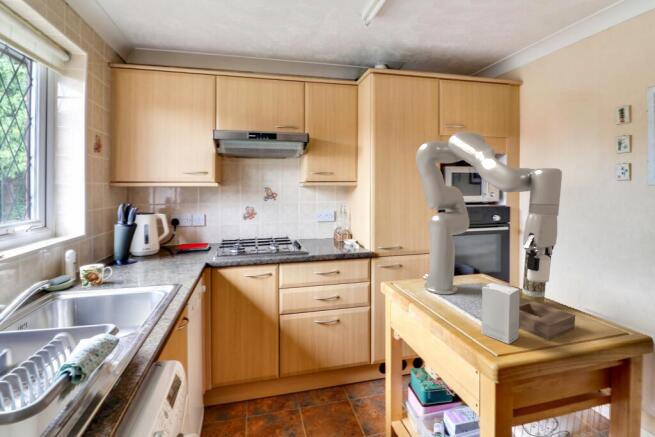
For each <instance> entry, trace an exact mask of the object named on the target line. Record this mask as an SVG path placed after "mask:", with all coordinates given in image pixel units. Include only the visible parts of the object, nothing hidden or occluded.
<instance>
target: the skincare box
mask: <svg viewBox="0 0 655 437" xmlns="http://www.w3.org/2000/svg"><path fill="white" fill-rule="evenodd" d="M520 290H521V289H519V288H517V287H512V286H508V285H503V284H499V283H496V282H490V283H488V284H486V285H483V286H482V288H481V291H482V293H481V296H482V297H481V335H484V336H487V337H490V338H492V339H494V340H497V341H500V342H503V343H505V344H507V345H510V344H512V343H513V342H515V341H516V340H518V339H519V333H520V332H519V330H520V329H519V299H520V298H521V297H520Z"/></svg>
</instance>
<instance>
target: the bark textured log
mask: <svg viewBox="0 0 655 437" xmlns="http://www.w3.org/2000/svg"><path fill="white" fill-rule="evenodd" d="M533 247H536V245H533ZM532 250H534V251H536V249H532ZM527 261H528V256H527V252H526V251H525V253H524V264H523V265H524V267H523V277H522V278H523V279H522V291H521V298H525V299H528V300H531V301H534V302H537V303H540V304H543V305H545V296H546V285H547V282H533V281H529V280H528V279H527V272H528V269H527Z"/></svg>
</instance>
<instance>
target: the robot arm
mask: <svg viewBox="0 0 655 437" xmlns="http://www.w3.org/2000/svg"><path fill="white" fill-rule="evenodd" d="M460 161H465V163H468V164H470V166H472V167H474V168H475V169H476V171H477V173H478V174H479V176H480V177H481V178H482V179H483V181H485V182H487V183H488V184H489V185H491V186H493V187H494V188H495V189H496V190H497V189H498V190H499V191H500V192H504V193H522V192H523V193H524V192H525V193H526V192H529V201H528V202H529V204H528V214H527V216H526V217H527V218H526V220H525V225H524V231H523V240H522V245H523V249H524V250H525V253H526V252H527V256H528V261H527V269H530V270H534V271H539V262H540V258H538V256H539V253H540V249H541V248H545V254H544V255H547V256H549V257H550V259H551V260H552V255H553V250H554V247H555V246H556V244H557V239H558V216H559V213H560V202H561V189H562V178H563V172H562V170H561V169H560V168H555V167H554V168H552V167H548V168H547V167H546V168H530V167H529V168H528V167H527V168H526V167H510V166H509V165H507V164H505V163H503V162H501V161H500V160H498V159H497V158H496V149H495V148H494V147H493V146H491V145H490V144H487V143H486V140H485V137H484V136H482V134H480V133H477V132H472V131H471V132H468V131H459V132H455V133H454V134H451V136H449V139H448V141H440V140H439V141H437V140H434V141H433V140H432V141H430V140H429V141H426V142H425V143H423V144H421V145H420V147H419V148H418V149H417V151H416V156H415V165H416V169H417V172H418V175H419V178H420V181H421V185H422V189H423V193H424V197H425V201H426V205H427V207H428V208H429V209H431V210H433V211H438V210H439V211H440V210H441V211H442V212H437V213H435V214H433V215H432V216H431V217H430V218H429V220H428V224H427V228H428V233H429V265H428V266H429V267H428V268H429V269H428V273H425V274H424V275H423V276H422V279H424V280H426V283H425V284H424V289H425V290H426V291H428V292H430V293H433V294H436V295H452V294H453V295H454V294H455V293H457V292H458V287H457V286H456V285H455V284H454V278H455V276H454V275H455V260H456V258H455V257H456V253H455V252H456V246H455V241H454V239H453V236H456V235H461V234H463V233H466V232H467V230H468V229H469V228H470V217H469V213H468V209H467V204H466V202H465V198H464V195H463V192H461V190H460V188H458V187H456V186H453V185H446V183H445V180H444V176H443V174H442V171H441V170H440V168H439V167H438V166H437V164H453V163H457V162H460ZM443 210H445V211H444V212H443ZM533 245H536V247H533ZM532 249H536V252H535V251H534V250H532ZM550 265H551V262H550Z"/></svg>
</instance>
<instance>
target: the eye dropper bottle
mask: <svg viewBox="0 0 655 437" xmlns="http://www.w3.org/2000/svg"><path fill="white" fill-rule="evenodd" d="M535 252H536V251H535ZM544 254H545V248H541V249H540V253H539V256H538V258H540V262H539V271H534V270H530V269H528V272H527V279H528V280H529V281H533V282H546V283H548V282H549V281H550V273H551V272H550V271H551V264H550V262H551V261H552V258H551V259H550V257H549V256H547V255H544Z"/></svg>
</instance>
